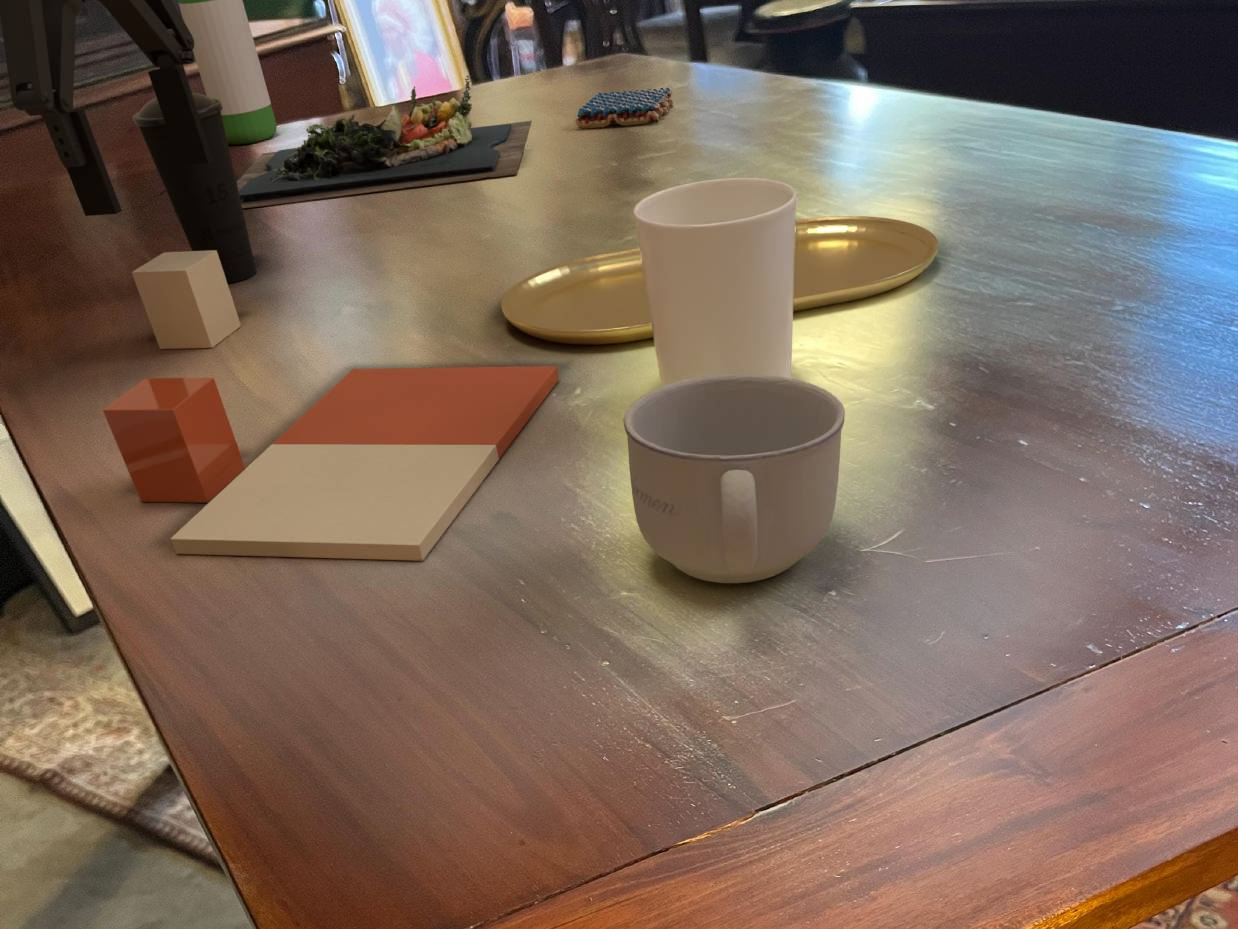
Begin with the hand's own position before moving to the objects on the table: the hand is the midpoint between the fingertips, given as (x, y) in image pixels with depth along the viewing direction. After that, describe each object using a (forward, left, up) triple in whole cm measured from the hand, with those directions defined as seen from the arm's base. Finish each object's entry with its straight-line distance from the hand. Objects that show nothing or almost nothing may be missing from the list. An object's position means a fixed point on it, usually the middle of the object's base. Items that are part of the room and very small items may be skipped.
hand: (152, 188), depth 94 cm
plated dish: (-8, +56, -11) cm, 58 cm away
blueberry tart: (+18, +72, -11) cm, 75 cm away
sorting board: (+27, -23, -11) cm, 37 cm away
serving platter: (+43, +8, -11) cm, 45 cm away
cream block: (0, 0, -11) cm, 11 cm away
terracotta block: (+15, -27, -11) cm, 33 cm away
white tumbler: (+48, -14, -11) cm, 51 cm away
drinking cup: (-6, +16, -11) cm, 21 cm away
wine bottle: (-35, +74, -11) cm, 83 cm away
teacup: (+53, -36, -12) cm, 65 cm away
